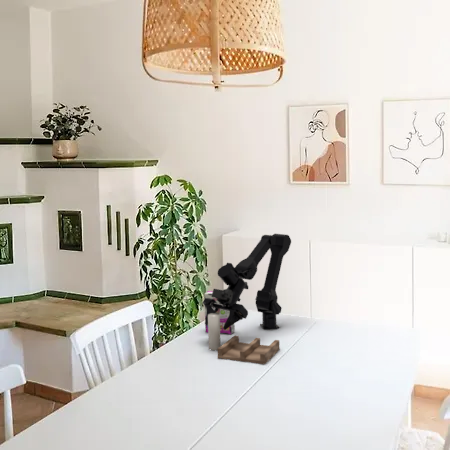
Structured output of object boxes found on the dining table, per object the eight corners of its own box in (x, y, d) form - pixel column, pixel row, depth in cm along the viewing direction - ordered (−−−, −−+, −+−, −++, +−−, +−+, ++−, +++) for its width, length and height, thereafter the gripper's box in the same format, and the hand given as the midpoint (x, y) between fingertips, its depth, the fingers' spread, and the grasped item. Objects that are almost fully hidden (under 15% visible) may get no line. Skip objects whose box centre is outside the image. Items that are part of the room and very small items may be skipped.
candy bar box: (235, 331, 247) (234, 291, 244) (231, 334, 242) (230, 294, 240) (208, 329, 250) (207, 290, 248) (204, 333, 245) (203, 293, 243)
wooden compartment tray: (234, 344, 230) (234, 335, 230) (279, 349, 223) (279, 340, 223) (217, 358, 216) (217, 348, 215) (264, 364, 209) (264, 354, 208)
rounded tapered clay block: (207, 347, 228) (206, 313, 226) (219, 346, 229) (218, 312, 227) (209, 351, 224) (208, 316, 222) (221, 350, 224) (220, 315, 223)
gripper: (205, 277, 233) (185, 311, 226) (242, 283, 221) (223, 319, 214) (219, 293, 240) (200, 326, 233) (256, 300, 228) (237, 336, 221)
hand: (214, 326), depth 225 cm, fingers open, 9 cm apart
